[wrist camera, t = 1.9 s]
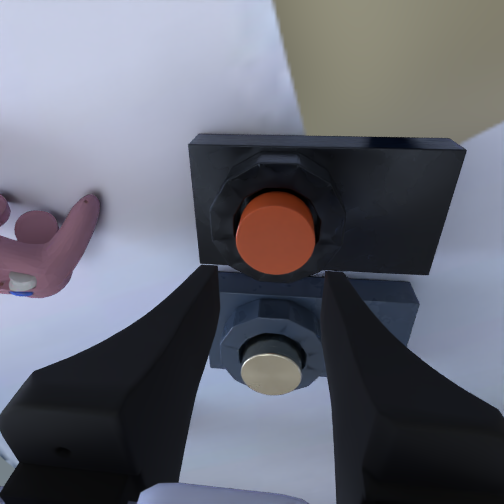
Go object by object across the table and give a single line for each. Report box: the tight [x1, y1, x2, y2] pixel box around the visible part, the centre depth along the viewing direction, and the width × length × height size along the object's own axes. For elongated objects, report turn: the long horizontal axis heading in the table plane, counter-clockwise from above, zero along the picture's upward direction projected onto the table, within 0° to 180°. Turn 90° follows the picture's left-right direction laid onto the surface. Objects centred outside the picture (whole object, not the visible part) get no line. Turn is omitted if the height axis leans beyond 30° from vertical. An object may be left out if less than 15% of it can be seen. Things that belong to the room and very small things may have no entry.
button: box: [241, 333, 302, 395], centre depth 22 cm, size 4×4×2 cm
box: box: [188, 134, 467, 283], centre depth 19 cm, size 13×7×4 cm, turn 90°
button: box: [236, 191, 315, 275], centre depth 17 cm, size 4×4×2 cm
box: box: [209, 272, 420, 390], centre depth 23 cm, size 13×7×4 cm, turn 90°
